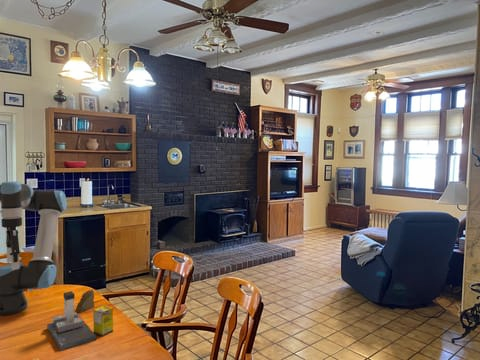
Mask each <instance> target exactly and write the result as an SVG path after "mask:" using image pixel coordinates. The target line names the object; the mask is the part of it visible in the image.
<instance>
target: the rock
mask: <svg viewBox="0 0 480 360" xmlns="http://www.w3.org/2000/svg"><path fill="white" fill-rule="evenodd" d="M94 307H95V293H94V290H93V289H89V290H87V291H85V292H83V293H82V295H81V298H80V299H79V301H78V302H77V305H76V308H75V309H74V312H76V313H77V314H78V313H81V312H84V311H87V310H91V309H92V308H94Z"/></svg>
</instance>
